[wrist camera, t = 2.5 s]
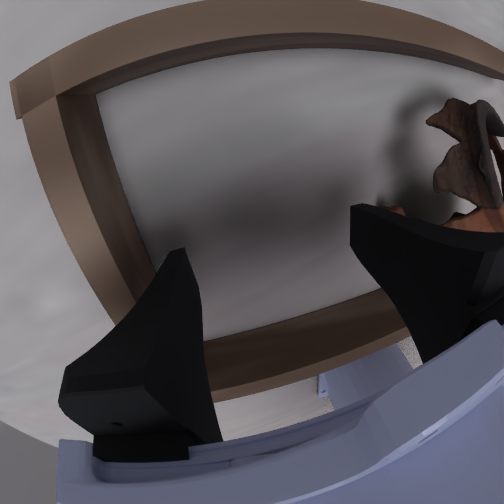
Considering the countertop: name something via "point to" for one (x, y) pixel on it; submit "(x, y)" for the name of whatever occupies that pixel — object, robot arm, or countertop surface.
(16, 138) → the countertop surface
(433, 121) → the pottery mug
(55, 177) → the brown wooden frame
